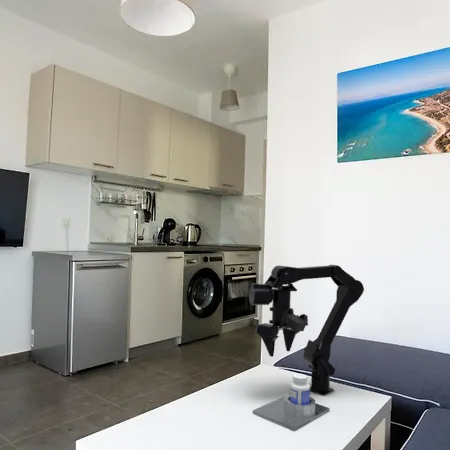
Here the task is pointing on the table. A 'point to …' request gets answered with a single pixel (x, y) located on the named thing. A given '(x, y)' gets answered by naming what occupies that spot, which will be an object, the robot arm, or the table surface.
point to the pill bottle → (300, 390)
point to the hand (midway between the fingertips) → (280, 353)
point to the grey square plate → (291, 412)
